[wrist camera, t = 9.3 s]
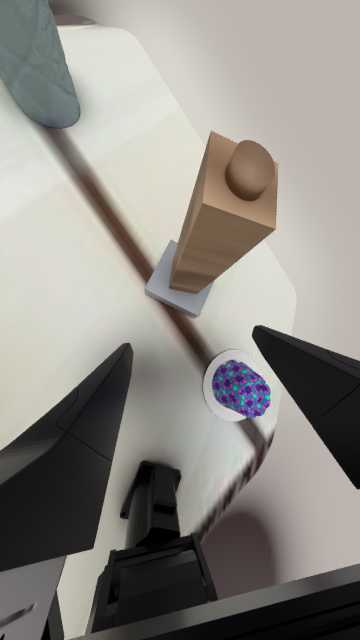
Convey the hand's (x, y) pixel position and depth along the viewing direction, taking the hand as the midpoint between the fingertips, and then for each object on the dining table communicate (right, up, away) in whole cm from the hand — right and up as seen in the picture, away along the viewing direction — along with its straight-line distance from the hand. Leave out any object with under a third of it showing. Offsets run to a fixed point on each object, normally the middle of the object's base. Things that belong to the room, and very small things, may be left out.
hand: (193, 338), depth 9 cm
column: (0, +8, +11) cm, 13 cm away
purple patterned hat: (+8, -10, +14) cm, 19 cm away
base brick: (-1, +8, +13) cm, 15 cm away
